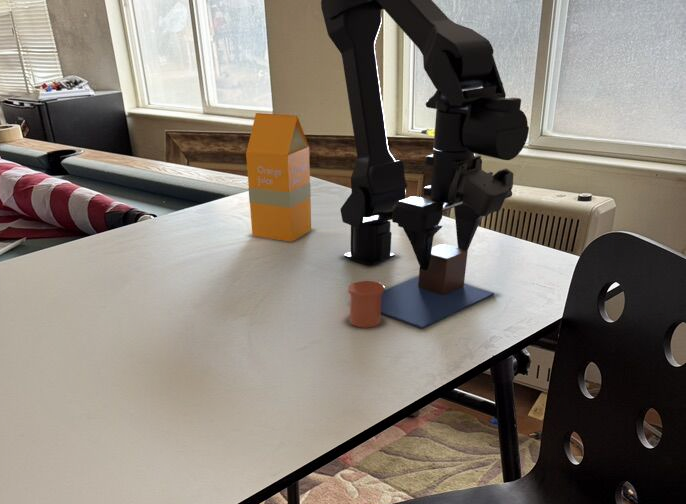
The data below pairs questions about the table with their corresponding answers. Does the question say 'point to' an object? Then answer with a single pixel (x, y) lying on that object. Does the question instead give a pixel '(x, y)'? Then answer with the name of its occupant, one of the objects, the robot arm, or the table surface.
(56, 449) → the table surface
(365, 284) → the terracotta pot
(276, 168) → the orange juice
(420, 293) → the cloth
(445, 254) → the walnut block
